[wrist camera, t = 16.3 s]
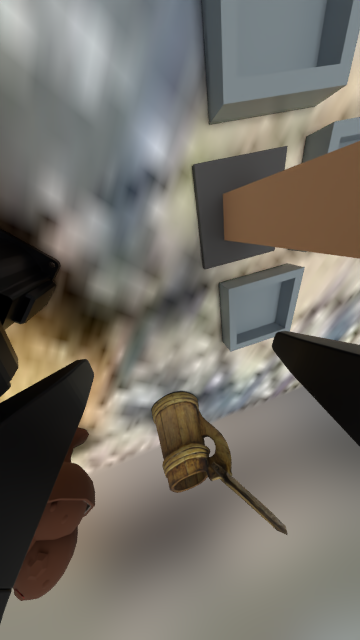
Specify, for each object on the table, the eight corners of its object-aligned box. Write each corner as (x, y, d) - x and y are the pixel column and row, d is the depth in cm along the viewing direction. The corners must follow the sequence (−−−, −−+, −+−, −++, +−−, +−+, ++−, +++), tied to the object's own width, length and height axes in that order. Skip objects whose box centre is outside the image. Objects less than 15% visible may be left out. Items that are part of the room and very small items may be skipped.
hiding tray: (287, 249, 20) (305, 251, 18) (306, 136, 15) (334, 121, 13) (353, 231, 21) (377, 232, 19) (392, 120, 16) (432, 103, 14)
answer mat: (203, 268, 19) (205, 269, 18) (192, 166, 14) (194, 164, 13) (270, 250, 20) (274, 250, 19) (282, 148, 15) (287, 145, 14)
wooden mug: (219, 399, 34) (287, 535, 19) (161, 424, 34) (183, 585, 18) (211, 374, 29) (292, 532, 14) (143, 404, 29) (153, 600, 14)
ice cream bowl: (93, 411, 26) (55, 578, 14) (110, 441, 32) (94, 579, 19) (19, 429, 24) (-104, 643, 12) (52, 458, 30) (-8, 624, 17)
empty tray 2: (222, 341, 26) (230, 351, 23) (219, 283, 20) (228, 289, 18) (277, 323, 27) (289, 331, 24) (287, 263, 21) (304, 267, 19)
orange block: (224, 240, 17) (419, 266, 5) (222, 194, 15) (542, 69, 3) (258, 231, 18) (508, 238, 6) (261, 185, 15) (668, 48, 4)
